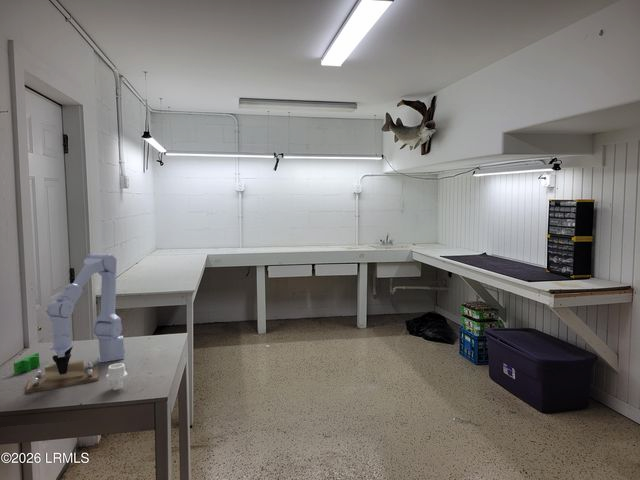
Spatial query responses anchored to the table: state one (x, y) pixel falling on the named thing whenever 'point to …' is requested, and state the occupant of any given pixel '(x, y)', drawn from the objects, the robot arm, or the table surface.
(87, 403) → the table surface
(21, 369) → the green block
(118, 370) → the pipe fitting
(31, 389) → the peg base
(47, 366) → the pine shelf board
